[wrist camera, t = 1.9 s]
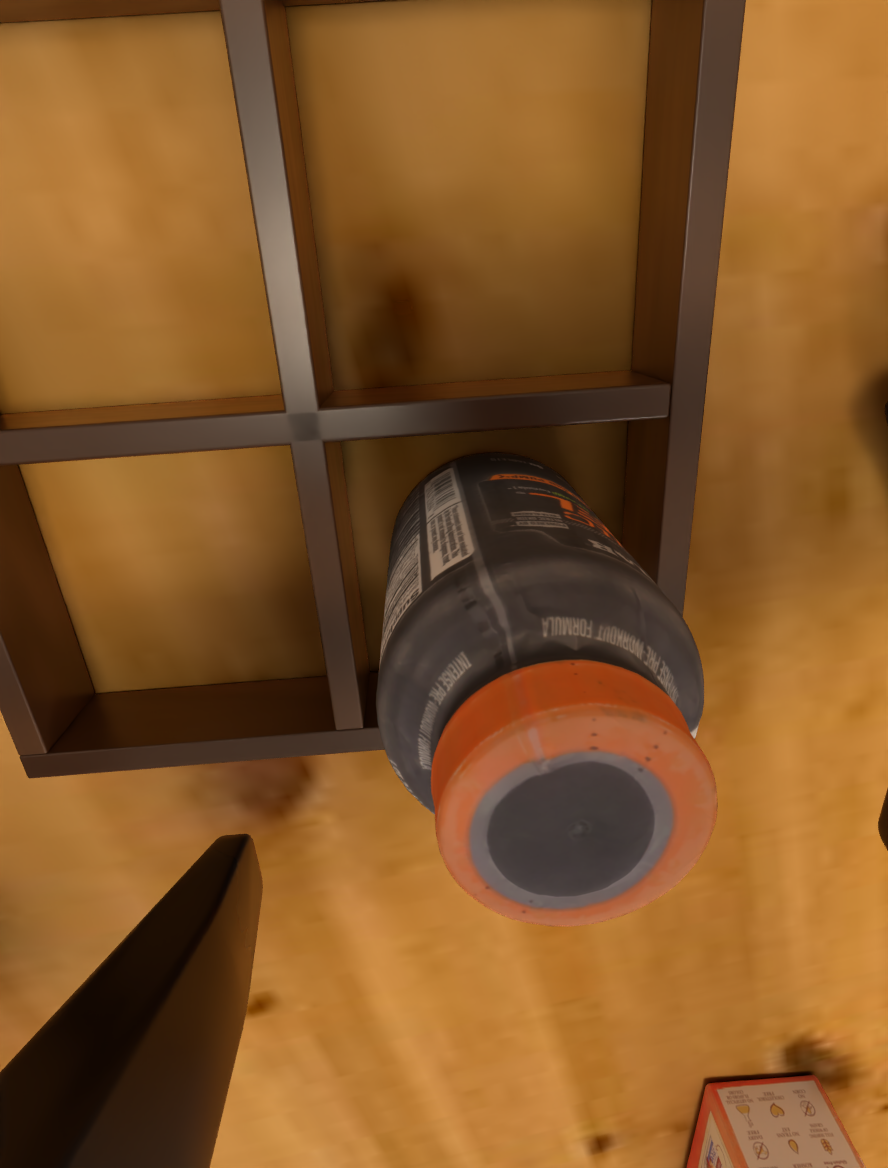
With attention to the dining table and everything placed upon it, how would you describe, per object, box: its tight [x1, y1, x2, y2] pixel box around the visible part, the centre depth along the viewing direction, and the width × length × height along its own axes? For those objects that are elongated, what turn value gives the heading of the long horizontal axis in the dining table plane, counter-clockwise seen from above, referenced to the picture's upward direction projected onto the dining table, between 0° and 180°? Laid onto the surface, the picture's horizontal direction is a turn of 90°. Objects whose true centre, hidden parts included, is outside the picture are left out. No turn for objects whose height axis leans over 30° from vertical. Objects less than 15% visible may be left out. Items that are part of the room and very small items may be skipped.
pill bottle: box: [376, 452, 718, 926], centre depth 14 cm, size 6×6×11 cm
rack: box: [0, 0, 746, 778], centre depth 16 cm, size 18×18×3 cm
